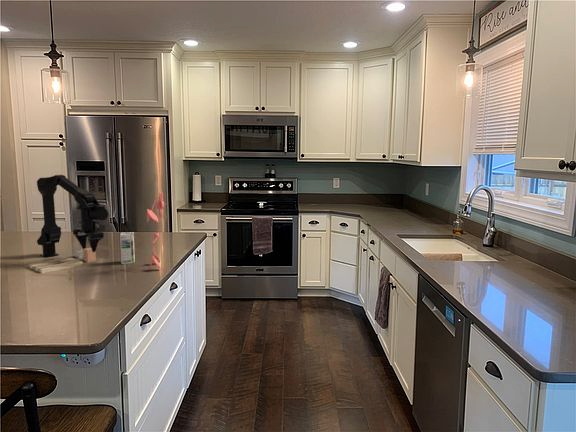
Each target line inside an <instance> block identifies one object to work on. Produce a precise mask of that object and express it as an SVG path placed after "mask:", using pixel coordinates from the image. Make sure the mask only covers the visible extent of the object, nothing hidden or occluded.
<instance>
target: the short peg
mask: <svg viewBox="0 0 576 432" xmlns="http://www.w3.org/2000/svg"><path fill="white" fill-rule="evenodd" d="M74 257H75V258H77V259H80V258H84V254H83V249H80V250H74Z"/></svg>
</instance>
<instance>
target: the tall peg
mask: <svg viewBox="0 0 576 432" xmlns="http://www.w3.org/2000/svg"><path fill="white" fill-rule="evenodd" d="M82 250H83V254H84V257H83V261H84V262H87V263H90V262H91V263H92V262H96V260H97V252H96V251H95V252H93V251H92V249H91V247H86V248H85V249H83V248H82Z"/></svg>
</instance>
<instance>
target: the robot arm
mask: <svg viewBox="0 0 576 432" xmlns="http://www.w3.org/2000/svg"><path fill="white" fill-rule="evenodd" d="M36 186H37V191H38V192H39V193H40V195H41V197H42V210H43V211H42V212H43V220H44V222H43V226H42V227H41V231H40V236H39V237H38V239H37V240H36V244H37V245H38V246H42V254H39V256H41V257H43V258H50V257H57V256H59V253H57V252H56V243H60V239H61V237H62V236H61V235H62V228H61V226H58V224H57V223H56V221H57V220H56V210H55V209H56V208H55V207H56V206H55V194H56V191H58V190H57V188H58V186H59V187H60V188H62V189H64V190H65V191H66V192H67V193H69V194H71V196H73V198H74V201H75V202H76V203H77V204H78V206H77V207H76V209H77V210H80V212H79V213H80V220H79V222H78V223H79V224H80V226H81V227H78V228H73V230H72V234H73V235H74V237H75V238H76V240H77V241H78V242H79V245H80V246H81V248H82V250H83V249H85V248H87V240H88V243H89V246H90V248H91V249H92V251H93V252H95V251H96V250H97V248H98V244H99V242H100V241H101V240H102V239H103V238H105V232H106V230H107V225H105V224H100V223H101V222H99V221H105V220H107V219H108V217H109V211H108V210H107V208H106V207H105V205H101V204H100V203H99V200H98V199H97V197H96V196H95V194H94V193H93V192H91V191H89V190H86V189H82V188H81V187H80V186H78V185H77V184H75V183H74V182H73V181H72V180H70V179H69V178H67V177H66V176H65V175H63V174H55V175H52V176H47V177H46V176H45V177H39V178H38V179H37V180H36ZM96 220H97V221H96ZM98 220H99V221H98Z"/></svg>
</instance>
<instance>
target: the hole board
mask: <svg viewBox="0 0 576 432" xmlns="http://www.w3.org/2000/svg"><path fill="white" fill-rule="evenodd" d="M83 265H84V262H83V261H82V260H78V259H76V258H73V257H69V256H67V257H66V256H65V257H62V258H61V257H60V258H55V259H51V260H50V259H49V260H44V261H39V262H33V263H28V265H27V266H28V268H29V269H31V270H33V271H36V272H39V273H41V274H44V273H49V272H54V271H60V270H63V269H64V270H65V269H69V268H74V267H79V266H83Z"/></svg>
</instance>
